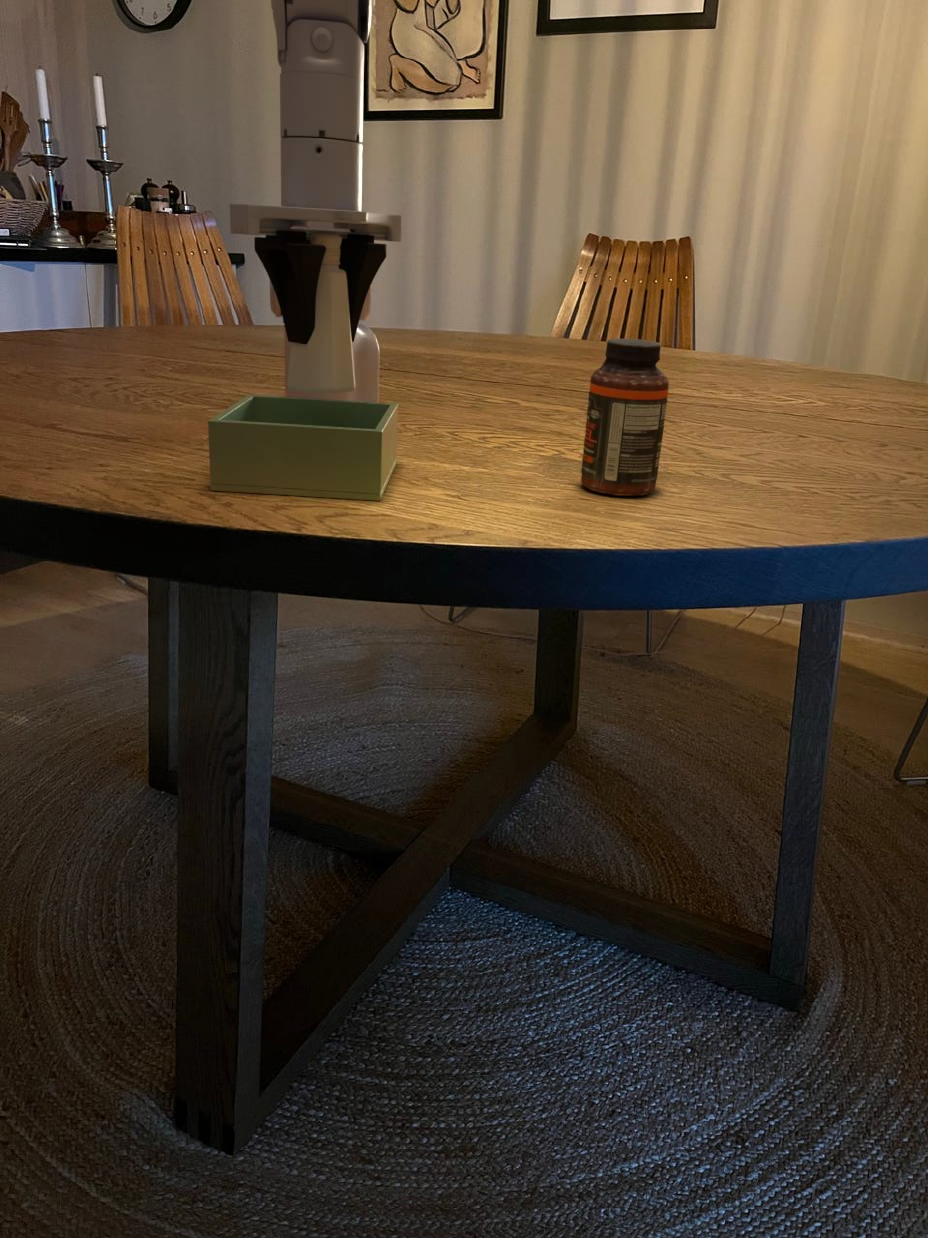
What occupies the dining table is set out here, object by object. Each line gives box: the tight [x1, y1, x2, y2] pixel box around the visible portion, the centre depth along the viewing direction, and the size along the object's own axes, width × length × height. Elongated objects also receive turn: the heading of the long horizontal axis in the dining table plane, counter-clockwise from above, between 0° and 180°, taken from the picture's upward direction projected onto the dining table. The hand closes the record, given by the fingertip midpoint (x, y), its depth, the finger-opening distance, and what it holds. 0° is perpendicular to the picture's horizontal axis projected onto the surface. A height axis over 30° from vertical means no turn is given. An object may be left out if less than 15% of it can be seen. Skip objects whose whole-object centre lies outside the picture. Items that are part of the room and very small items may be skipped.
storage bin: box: [207, 394, 399, 502], centre depth 76 cm, size 12×12×5 cm
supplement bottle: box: [580, 338, 670, 497], centre depth 77 cm, size 6×6×11 cm
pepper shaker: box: [287, 233, 355, 393], centre depth 74 cm, size 5×5×11 cm
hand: (321, 341), depth 75 cm, fingers closed on pepper shaker, 3 cm apart
